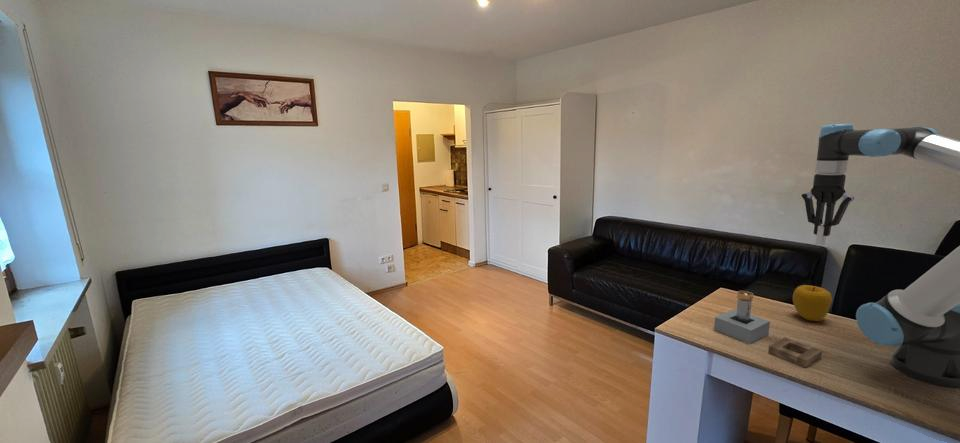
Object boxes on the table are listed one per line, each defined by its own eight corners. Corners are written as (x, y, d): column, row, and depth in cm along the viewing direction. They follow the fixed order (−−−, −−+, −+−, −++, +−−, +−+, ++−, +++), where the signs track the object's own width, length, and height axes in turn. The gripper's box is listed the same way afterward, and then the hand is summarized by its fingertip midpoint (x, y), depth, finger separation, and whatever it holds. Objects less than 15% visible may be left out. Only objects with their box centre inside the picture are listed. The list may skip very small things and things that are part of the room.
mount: (821, 357, 120) (822, 350, 120) (805, 367, 116) (806, 360, 115) (783, 344, 129) (784, 337, 128) (768, 352, 124) (769, 345, 124)
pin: (751, 333, 137) (756, 293, 134) (744, 336, 135) (748, 296, 132) (738, 328, 141) (742, 289, 138) (731, 331, 139) (734, 292, 136)
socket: (768, 334, 135) (770, 321, 134) (749, 344, 130) (751, 330, 129) (732, 321, 146) (734, 309, 145) (714, 329, 140) (715, 317, 139)
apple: (783, 314, 149) (787, 283, 147) (804, 310, 152) (808, 279, 149) (814, 327, 139) (819, 293, 136) (836, 322, 142) (841, 289, 139)
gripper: (862, 173, 119) (850, 247, 124) (810, 171, 131) (802, 239, 135) (851, 175, 116) (840, 251, 121) (800, 173, 127) (791, 242, 132)
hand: (820, 244), depth 128 cm, fingers closed
